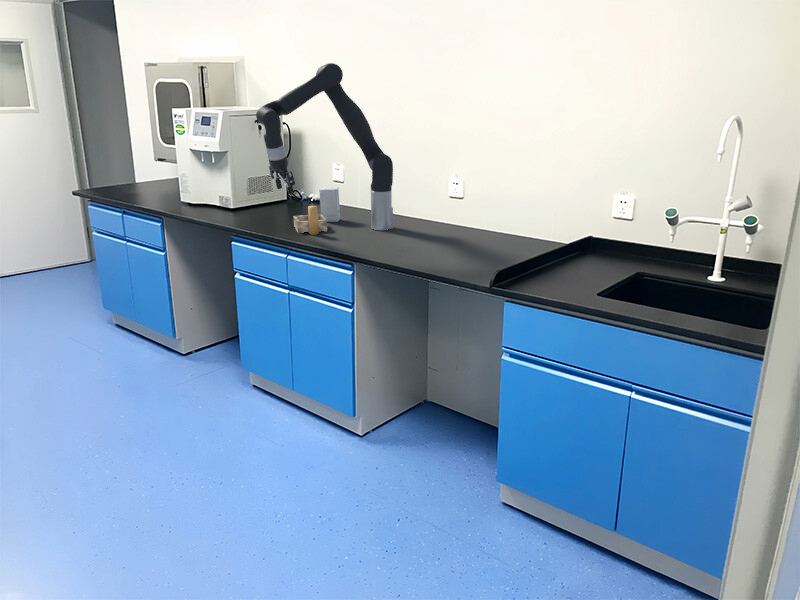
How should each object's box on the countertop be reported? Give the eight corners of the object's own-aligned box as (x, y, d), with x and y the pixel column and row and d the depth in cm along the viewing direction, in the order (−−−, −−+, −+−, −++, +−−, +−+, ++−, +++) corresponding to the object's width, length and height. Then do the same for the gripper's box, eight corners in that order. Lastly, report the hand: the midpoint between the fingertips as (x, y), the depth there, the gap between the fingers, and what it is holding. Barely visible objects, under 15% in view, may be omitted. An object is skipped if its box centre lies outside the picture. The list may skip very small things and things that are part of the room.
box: (322, 225, 291) (321, 214, 289) (327, 231, 279) (326, 220, 277) (294, 226, 287) (293, 216, 286) (297, 233, 276) (297, 221, 274)
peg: (317, 232, 277) (316, 205, 273) (319, 234, 273) (318, 207, 269) (308, 233, 275) (307, 206, 271) (310, 235, 272) (308, 207, 268)
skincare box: (340, 219, 303) (339, 187, 298) (337, 222, 297) (336, 189, 291) (323, 219, 304) (322, 186, 298) (320, 222, 297) (319, 189, 292)
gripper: (294, 156, 257) (302, 192, 267) (274, 148, 266) (283, 183, 276) (279, 163, 253) (288, 199, 263) (260, 155, 262) (269, 190, 272)
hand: (285, 191), depth 269 cm, fingers open, 8 cm apart
